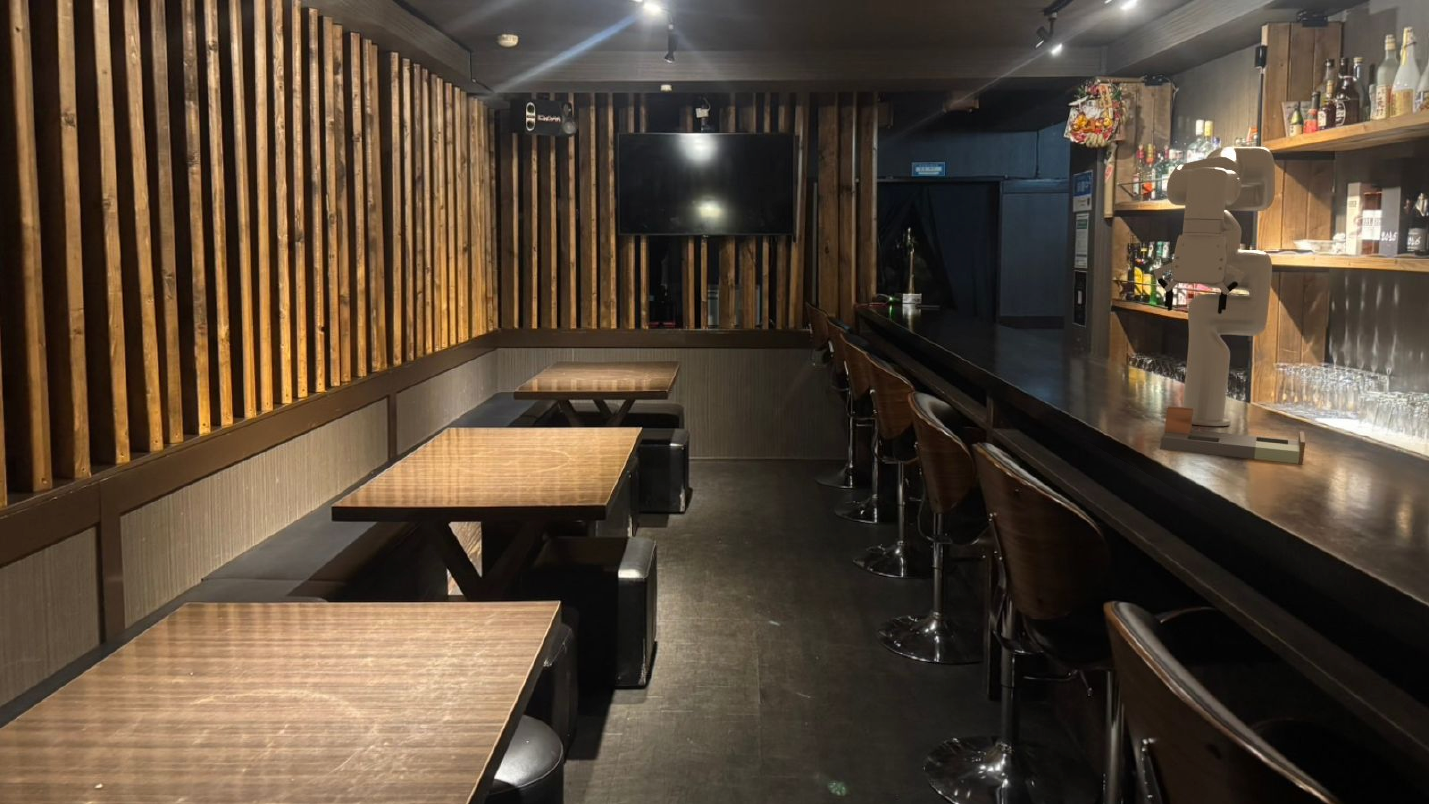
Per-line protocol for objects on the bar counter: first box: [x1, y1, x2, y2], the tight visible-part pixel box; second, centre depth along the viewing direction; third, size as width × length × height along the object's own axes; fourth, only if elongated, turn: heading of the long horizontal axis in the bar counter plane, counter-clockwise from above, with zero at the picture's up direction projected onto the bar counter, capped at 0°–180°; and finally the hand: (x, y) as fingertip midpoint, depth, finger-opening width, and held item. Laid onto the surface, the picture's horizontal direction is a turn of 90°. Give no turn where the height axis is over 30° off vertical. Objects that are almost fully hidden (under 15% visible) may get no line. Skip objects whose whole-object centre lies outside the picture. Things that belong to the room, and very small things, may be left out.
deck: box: [1159, 429, 1306, 465], centre depth 235 cm, size 15×27×4 cm, turn 63°
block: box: [1164, 405, 1193, 434], centre depth 242 cm, size 5×5×5 cm
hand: (1194, 312), depth 231 cm, fingers open, 9 cm apart
